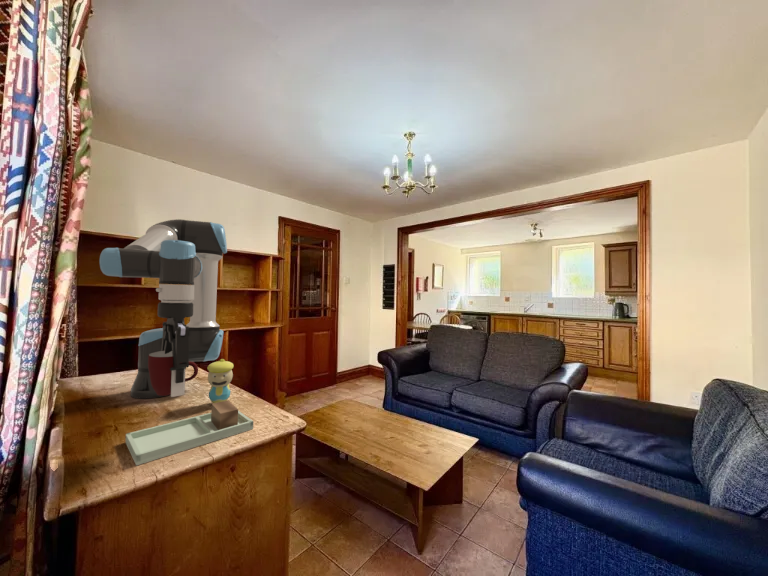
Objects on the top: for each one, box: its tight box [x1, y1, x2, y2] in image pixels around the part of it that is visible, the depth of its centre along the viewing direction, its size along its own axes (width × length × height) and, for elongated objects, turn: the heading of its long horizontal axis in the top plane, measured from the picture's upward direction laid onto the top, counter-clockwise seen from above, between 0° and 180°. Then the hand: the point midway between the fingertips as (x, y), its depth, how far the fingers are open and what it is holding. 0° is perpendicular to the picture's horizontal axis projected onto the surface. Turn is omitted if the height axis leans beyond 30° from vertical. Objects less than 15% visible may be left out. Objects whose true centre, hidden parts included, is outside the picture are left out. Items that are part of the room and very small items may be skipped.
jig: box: [125, 410, 254, 467], centre depth 82 cm, size 14×26×2 cm, turn 137°
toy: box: [206, 358, 234, 404], centre depth 104 cm, size 8×9×15 cm
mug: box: [148, 351, 199, 397], centre depth 78 cm, size 11×8×10 cm
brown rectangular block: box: [210, 399, 239, 430], centre depth 88 cm, size 4×9×5 cm, turn 42°
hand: (172, 391), depth 78 cm, fingers closed on mug, 8 cm apart
